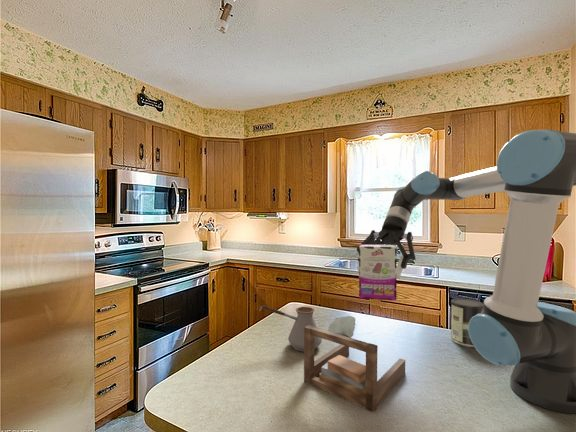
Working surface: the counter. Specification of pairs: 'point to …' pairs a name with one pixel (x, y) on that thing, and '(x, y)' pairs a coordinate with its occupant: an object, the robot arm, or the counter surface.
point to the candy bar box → (377, 272)
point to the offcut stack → (345, 374)
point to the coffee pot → (299, 326)
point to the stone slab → (343, 326)
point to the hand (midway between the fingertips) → (377, 273)
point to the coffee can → (463, 319)
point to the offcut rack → (312, 369)
